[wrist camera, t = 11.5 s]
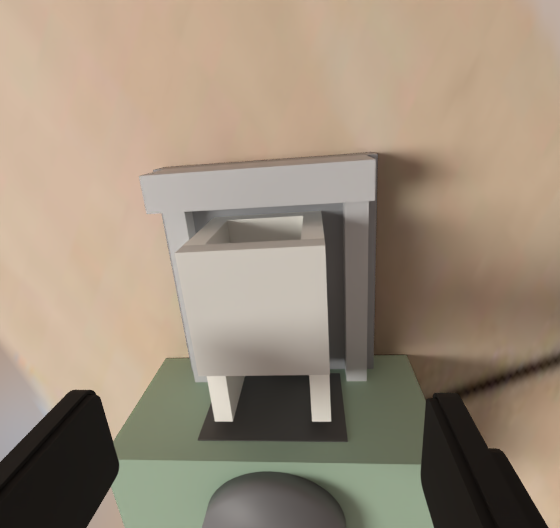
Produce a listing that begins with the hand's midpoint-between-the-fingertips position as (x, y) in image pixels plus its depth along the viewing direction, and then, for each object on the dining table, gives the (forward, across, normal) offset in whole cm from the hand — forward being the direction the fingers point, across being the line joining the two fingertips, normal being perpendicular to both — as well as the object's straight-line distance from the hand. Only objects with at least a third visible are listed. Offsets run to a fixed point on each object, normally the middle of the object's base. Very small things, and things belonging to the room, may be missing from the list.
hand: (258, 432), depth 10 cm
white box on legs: (+8, 0, -1) cm, 8 cm away
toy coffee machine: (+10, +1, +2) cm, 10 cm away
